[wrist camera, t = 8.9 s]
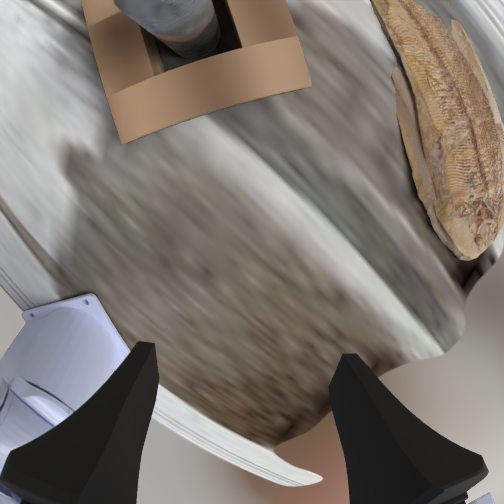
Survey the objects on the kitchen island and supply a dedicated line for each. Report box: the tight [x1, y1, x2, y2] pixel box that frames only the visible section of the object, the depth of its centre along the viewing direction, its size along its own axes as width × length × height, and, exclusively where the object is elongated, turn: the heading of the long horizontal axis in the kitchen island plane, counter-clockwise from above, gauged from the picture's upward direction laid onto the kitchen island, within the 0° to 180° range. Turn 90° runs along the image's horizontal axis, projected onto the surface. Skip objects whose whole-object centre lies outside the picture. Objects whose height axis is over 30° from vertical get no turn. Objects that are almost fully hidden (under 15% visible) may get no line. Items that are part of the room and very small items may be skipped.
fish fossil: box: [370, 0, 504, 261], centre depth 16 cm, size 26×10×1 cm, turn 31°
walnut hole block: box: [81, 0, 312, 144], centre depth 13 cm, size 10×10×3 cm
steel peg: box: [113, 0, 220, 59], centre depth 10 cm, size 3×3×9 cm
